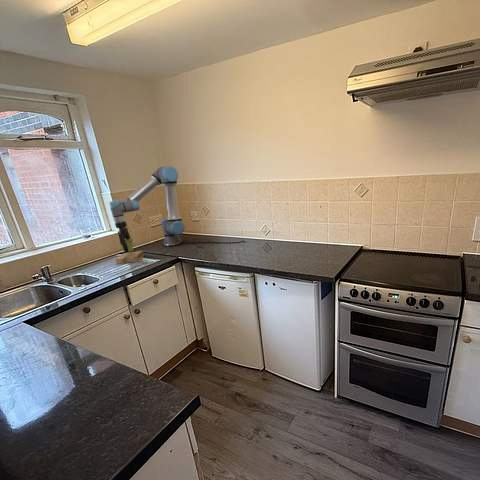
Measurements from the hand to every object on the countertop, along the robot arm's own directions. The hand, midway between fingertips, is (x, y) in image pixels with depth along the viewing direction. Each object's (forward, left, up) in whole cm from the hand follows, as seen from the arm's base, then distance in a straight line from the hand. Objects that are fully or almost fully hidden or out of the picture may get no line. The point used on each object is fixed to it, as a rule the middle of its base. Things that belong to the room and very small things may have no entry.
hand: (128, 251), depth 230 cm
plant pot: (0, 0, 0) cm, 0 cm away
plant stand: (0, 0, -7) cm, 7 cm away
